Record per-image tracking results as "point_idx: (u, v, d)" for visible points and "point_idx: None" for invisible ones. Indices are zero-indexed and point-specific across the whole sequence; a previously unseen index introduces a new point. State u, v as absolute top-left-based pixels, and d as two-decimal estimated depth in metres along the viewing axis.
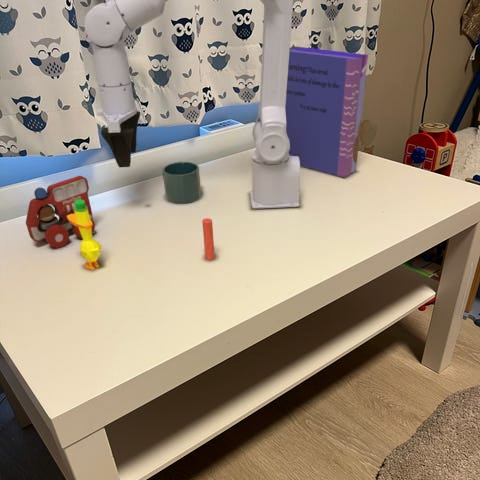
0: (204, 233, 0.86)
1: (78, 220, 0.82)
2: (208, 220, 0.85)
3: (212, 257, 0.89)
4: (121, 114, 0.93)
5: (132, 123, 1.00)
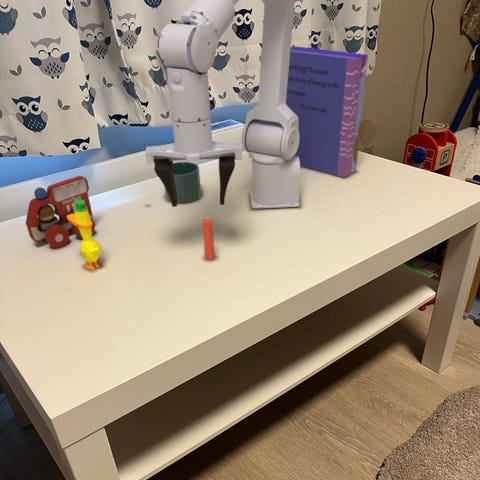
0: (204, 233, 0.86)
1: (78, 220, 0.82)
2: (208, 220, 0.85)
3: (212, 257, 0.89)
4: (212, 145, 0.80)
5: (172, 168, 0.83)
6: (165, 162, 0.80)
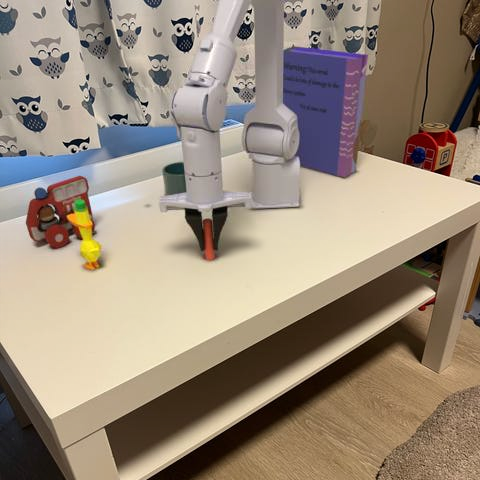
0: (204, 233, 0.86)
1: (78, 220, 0.82)
2: (208, 220, 0.85)
3: (212, 257, 0.89)
4: (223, 194, 0.83)
5: (201, 214, 0.86)
6: (195, 210, 0.83)
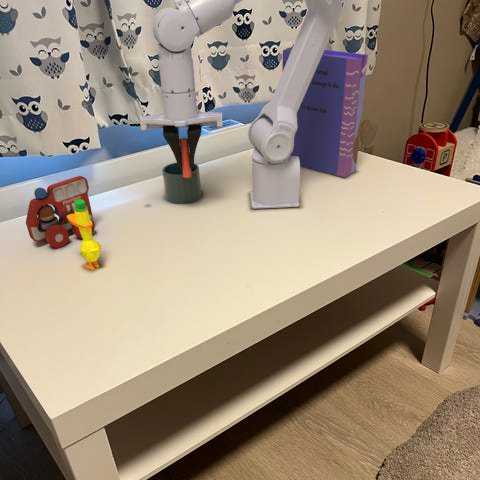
0: (181, 151, 0.96)
1: (78, 220, 0.82)
2: (184, 139, 0.95)
3: (189, 175, 0.98)
4: (197, 114, 0.93)
5: (178, 134, 0.96)
6: (172, 128, 0.93)
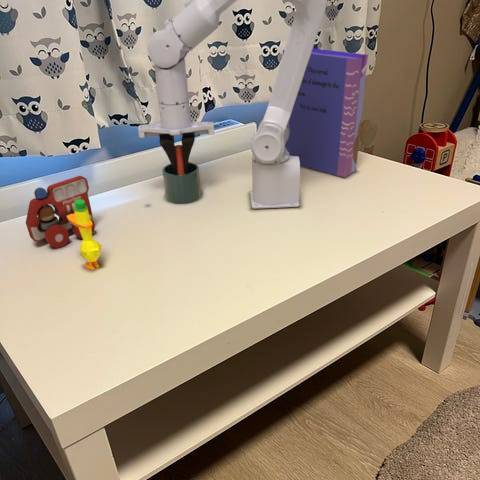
0: (176, 157, 1.04)
1: (78, 220, 0.82)
2: (179, 146, 1.04)
3: None
4: None
5: (173, 141, 1.04)
6: (168, 136, 1.02)
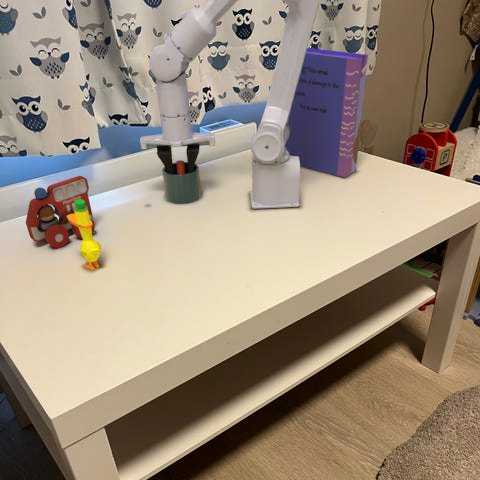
0: (177, 172, 1.06)
1: (78, 220, 0.82)
2: (181, 161, 1.06)
3: None
4: (192, 135, 1.03)
5: (171, 153, 1.06)
6: (165, 148, 1.03)
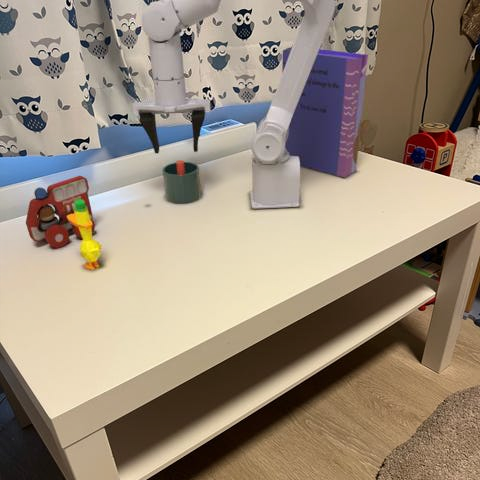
0: (177, 172, 1.06)
1: (78, 220, 0.82)
2: (181, 161, 1.06)
3: None
4: (186, 101, 0.99)
5: (155, 121, 1.02)
6: (148, 115, 0.99)
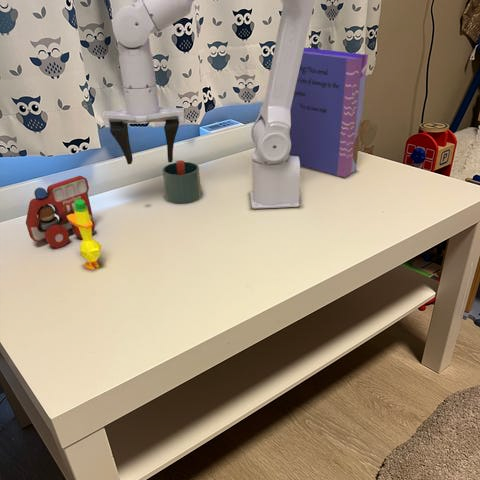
0: (177, 172, 1.06)
1: (78, 220, 0.82)
2: (181, 161, 1.06)
3: None
4: (159, 110, 0.95)
5: (127, 130, 0.97)
6: (119, 124, 0.94)
